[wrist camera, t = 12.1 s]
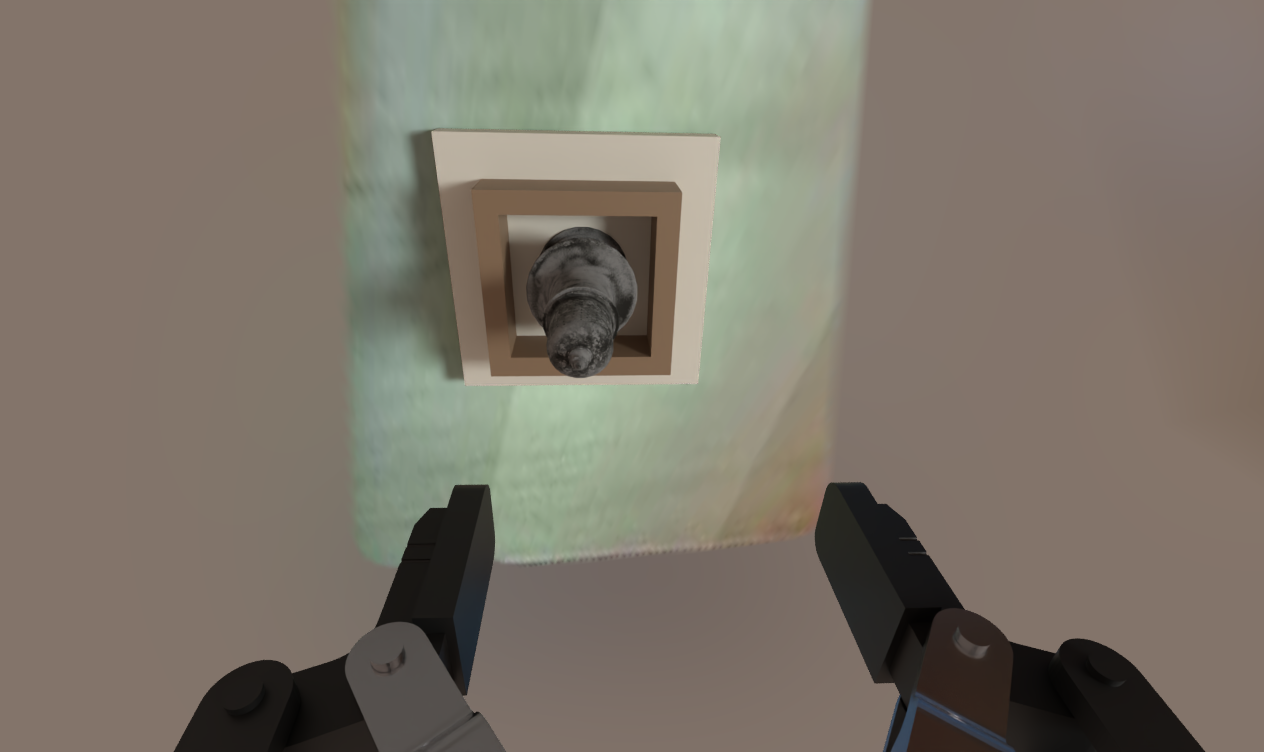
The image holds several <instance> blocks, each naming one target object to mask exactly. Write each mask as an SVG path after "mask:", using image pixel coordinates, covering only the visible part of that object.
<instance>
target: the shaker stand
mask: <svg viewBox="0 0 1264 752" xmlns="http://www.w3.org/2000/svg"><path fill="white" fill-rule="evenodd" d="M431 133H432V140H433V148H434V155H435V163H436V170H437V178H438V185H439V193H440V200H441V208H442V216H443V223H444V231H445V238H446V246H447V253H448V261H449V268H450V276H451V283H452V291H453V298H454V306H455V313H456V321H457V328H458V336H459V343H460V351H461V358H462V366H463V373H464V381H465V386H500V385H616V384H698V378H699V367H700V357H701V346H702V335H703V324H704V313H705V302H706V291H707V280H708V269H709V258H710V247H711V236H712V225H713V214H714V204H715V193H716V182H717V171H718V160H719V149H720V138H721V137H720V136H718V135H716V134H696V133H646V132H596V131H546V130H496V129H445V128H438V129H436V130H433V131H431ZM573 227H590V228H594V229H598V230H601V231H602V232H604V233H606V234H608V235H609V236H611V237H612V238H613V239H614V240H615V241H616V242H617V243H618V244H619V245H620V247H621V249H622V250H623V252H624V254H625V256H626V260H627V261H628V263H629V265H630V266H631V268H632V270H633V272H634V275H635V279H636V283H637V302H636V305H635V308H634V312H633V314H632V315H631V317H630V318H629V320H628V322H627V323H626V325H624V326H623V327H622V328H621V329H620V330H619V331H618V332H617V335H616V337H615V338H614V340H613V354H612V357H611V360H610V361H609V363H608V364H607V366H606V367H605V368H604V369H603V370H602V371H601V372H600V373H598V374H596V375H594V376H591V377H587V378H573V377H569V376H566V375H564V374H562V373H560V372H559V371H558V370H557V369H555V367H554V366H553V365H552V363H551V362H550V359H549V357H548V354H547V346H546V344H547V337H546V335H545V332H544V329H543V327H542V326H540V325H539V323H538V322H537V320H536V319H535V317H534V316H533V315H532V313H531V310H530V307H529V305H528V302H527V293H526V285H527V280H528V275H529V272H530V270H531V268H532V266H533V264H534V262H535V260H536V259H537V258H538V257H539V256H540V254H541V252H542V250H543V248H544V246H545V244H546V243H547V242H548V241H549V240H550V239H551V238H552V237H553V236H555V235H556V234H558V233H560V232H561V231H563V230H566V229H570V228H573Z"/></svg>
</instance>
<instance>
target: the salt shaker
mask: <svg viewBox="0 0 1264 752" xmlns="http://www.w3.org/2000/svg"><path fill="white" fill-rule="evenodd" d="M526 293H527V302H528V305H529V307H530V310H531V313H532V315H533V316H534V317H535V319H536V320H537V322H538V323H539V325H540V326H542V327H543V329H544V332H545V335H546V337H547V344H546V346H547V354H548V357H549V359H550V362H551V363H552V365H553V366H554V367H555V369H557V370H558V371H559V372H560V373H562V374H564V375H566V376H569V377H573V378H587V377H591V376H594V375H596V374H598V373H600V372H601V371H602V370H603V369H604V368H605V367H606V366H607V364H608V363H609V361H610V360H611V357H612V354H613V340H614V338H615V337H616V335H617V332H618V331H619V330H620V329H621V328H622V327H623V326H624V325H626V323H627V322H628V320H629V318H630V317H631V315H632V314H633V312H634V308H635V305H636V302H637V283H636V279H635V275H634V272H633V270H632V268H631V266H630V265H629V263H628V261H627V260H626V256H625V254H624V252H623V250H622V249H621V247H620V245H619V244H618V243H617V242H616V241H615V240H614V239H613V238H612V237H611V236H609V235H608V234H606V233H604V232H602V231H601V230H598V229H594V228H590V227H573V228H570V229H566V230H563V231H561V232H560V233H558V234H556V235H555V236H553V237H552V238H551V239H550V240H549V241H548V242H547V243H546V244H545V246H544V248H543V250H542V252H541V254H540V256H539V257H538V258H537V259H536V260H535V262H534V264H533V266H532V268H531V270H530V272H529V275H528V280H527V285H526Z"/></svg>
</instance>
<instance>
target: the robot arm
mask: <svg viewBox="0 0 1264 752" xmlns="http://www.w3.org/2000/svg"><path fill="white" fill-rule="evenodd" d="M815 546H816V551H817V554H818V557H819V559H820V561H821V564H822V566H823V568H824V570H825V573H826V575H827V577H828V580H829V582H830V584H831V586H832V589H833V591H834V593H835V595H836V598H837V600H838V602H839V604H840V606H841V609H842V611H843V613H844V616H845V618H846V620H847V622H848V625H849V627H850V629H851V631H852V634H853V636H854V638H855V640H856V642H857V645H858V647H859V649H860V652H861V654H862V656H863V658H864V661H865V663H866V665H867V667H868V670H869V672H870V674H871V676H872V679H873V681H874V683H895V685H896V687H897V689H898V691H899V693H900V695H899V697H898V699H897V702H896V705H895V709H894V713H893V716H892V720H891V724H890V727H889V731H888V735H887V738H886V742H885V746H884V750H883V752H1205V751H1204V750H1203V748H1202V747H1201V746H1200V745H1199V743H1198V742H1197V741H1196V740H1195V739H1194V737H1193V736H1192V735H1191V734H1190V733H1189V731H1188V730H1187V729H1186V728H1185V726H1184V725H1183V724H1182V723H1181V721H1180V720H1179V719H1178V718H1177V717H1176V715H1175V714H1174V713H1173V712H1172V710H1171V709H1170V708H1169V707H1168V706H1167V704H1166V703H1165V702H1164V701H1163V699H1162V698H1161V697H1160V696H1159V695H1158V693H1157V692H1156V691H1155V690H1154V689H1153V687H1152V686H1151V685H1150V683H1149V682H1148V681H1147V680H1146V679H1145V677H1144V676H1143V675H1142V674H1141V673H1140V671H1138V669H1136V667H1135V666H1134V665H1133V664H1132V663H1131V662H1129V661H1128V660H1127V659H1126V658H1124V657H1123V656H1122V655H1120V654H1119V653H1117V652H1116V651H1114V650H1112V649H1110V648H1108V647H1107V646H1104V645H1102V644H1099V643H1097V642H1094V641H1091V640H1086V639H1070V640H1067V641H1065V642H1063V644H1062V645H1061V646H1060V648H1059V649H1058V651H1057V652H1056V653H1052V652H1048V651H1044V650H1040V649H1036V648H1032V647H1028V646H1024V645H1020V644H1016V643H1013V642H1010V641H1008V639H1007V638H1006V636H1005V635H1004V634H1003V633H1002V632H1001V630H999V629H998V628H997V627H996V626H995V625H994V624H993V623H991V622H990V621H989V620H987V619H985V618H984V617H982V616H980V615H978V614H976V613H974V612H971V611H968V610H965V609H964V608H963V606H962V605H961V603H960V602H959V600H958V598H957V597H956V595H955V594H954V593H953V591H952V589H951V588H950V586H949V585H948V584H947V582H946V580H945V579H944V577H943V576H942V574H941V573H940V571H939V570H938V568H937V567H936V565H935V564H934V562H933V561H932V559H931V558H930V556H929V555H927V554H926V550H925V549H924V547H923V546H922V545H921V543H920V541H917V537H916V535H915V534H914V532H913V531H912V529H911V528H910V526H909V525H908V523H907V522H906V520H905V519H904V518H903V517H902V516H900V515H899V514H898V513H897V512H895V511H894V510H893V509H892V508H890V507H889V506H888V505H887V504H877V502H876V501H875V499H874V497H873V496H872V494H871V493H870V491H869V489H868V488H867V486H866V485H865V484H864V483H861V482H851V483H850V482H848V483H830V484H829V485H828V486H827V488H826V491H825V495H824V499H823V503H822V506H821V510H820V514H819V518H818V522H817V525H816V530H815ZM494 551H495V531H494V522H493V513H492V504H491V495H490V488H489V485H455V486H454V488H453V491H452V494H451V497H450V500H449V503H448V507H447V508H430V509H429V510H428V511H427V512H426V513H425V514H424V515H423V516H422V517H421V518H420V520H419V521H418V522H417V523H416V524H415V525H414V528H413V530H412V533H411V536H410V538H409V541H408V544H407V548H406V549H405V551H404V554H403V557H402V562H401V563H400V565H399V567H398V570H397V573H396V575H395V578H394V581H393V583H392V586H391V588H390V591H389V594H388V596H387V599H386V602H385V604H384V607H383V610H382V612H381V615H380V618H379V620H378V623H377V625H376V627H375V628H374V629H373V630H371V631H370V632H368V633H367V634H365V635H364V636H363V637H362V638H361V639H360V640H359V641H358V642H357V643H356V644H355V645H354V647H353V648H352V649H351V651H350V653H348V654H346V655H345V656H342V657H341V658H338V659H336V660H333V661H330V662H327V663H324V664H321V665H318V666H315V667H311V668H308V669H305V670H302V671H299V672H295V673H291V671H290V669H289V668H288V667H287V666H286V665H284V664H283V663H281V662H278V661H273V660H261V661H255V662H252V663H248V664H246V665H243V666H241V667H239V668H237V669H235V670H233V671H231V672H230V673H228V674H227V675H225V676H224V677H223V678H221V679H220V680H219V681H218V682H217V683H216V684H215V685H214V686H212V687H211V688H210V690H209V691H208V692H207V693H206V695H205V696H204V697H203V699H202V701H201V702H200V704H199V706H198V708H197V710H196V712H195V713H194V716H193V717H192V719H191V721H190V723H189V724H188V726H187V728H186V730H185V732H184V734H183V735H182V737H181V739H180V741H179V743H178V745H177V747H176V749H175V751H174V752H506V751H505V749H504V748H503V746H502V745H501V743H500V741H499V740H498V738H497V736H496V735H495V733H494V731H493V730H492V728H491V726H490V725H489V723H488V722H487V720H486V719H485V718H484V717H483V715H482V714H481V713H479V712H476V713H474V712H473V711H472V710H471V709H470V707H469V706H468V704H467V703H466V701H465V699H464V698H463V695H467V691H468V686H469V682H470V677H471V671H472V666H473V661H474V656H475V651H476V646H477V641H478V636H479V631H480V626H481V621H482V615H483V610H484V605H485V600H486V595H487V590H488V585H489V580H490V575H491V570H492V565H493V560H494Z"/></svg>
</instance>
